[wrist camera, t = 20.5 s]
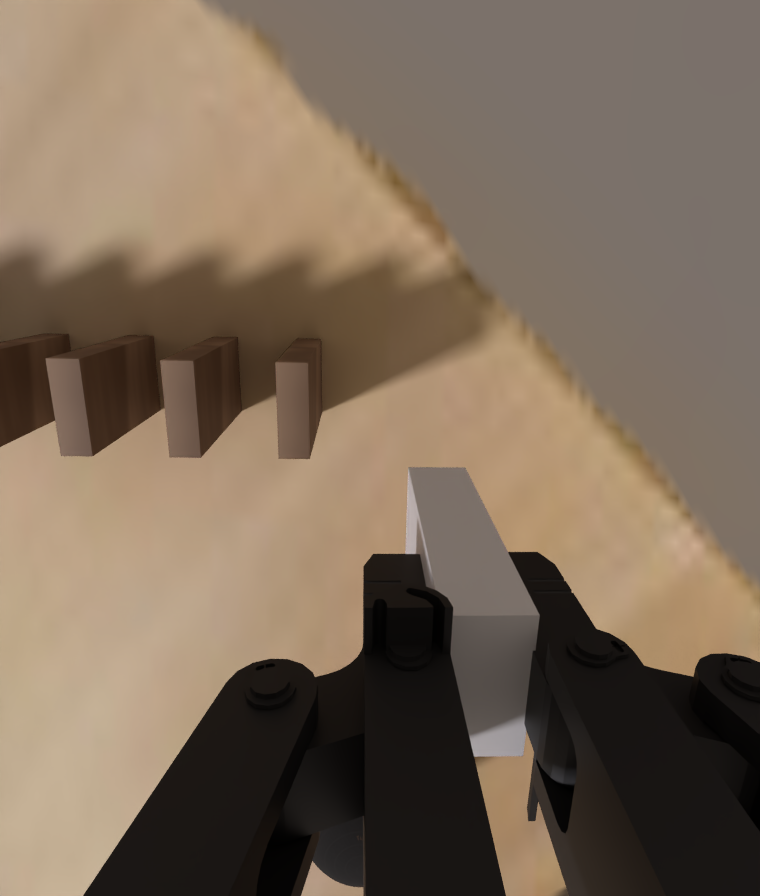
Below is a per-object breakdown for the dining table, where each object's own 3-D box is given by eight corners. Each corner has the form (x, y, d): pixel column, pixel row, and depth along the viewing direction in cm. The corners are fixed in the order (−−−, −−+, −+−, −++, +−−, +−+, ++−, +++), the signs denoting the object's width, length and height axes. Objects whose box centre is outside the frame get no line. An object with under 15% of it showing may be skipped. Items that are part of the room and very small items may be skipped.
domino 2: (136, 409, 38) (61, 455, 29) (128, 335, 37) (45, 358, 27) (160, 409, 39) (92, 456, 29) (153, 335, 37) (78, 358, 27)
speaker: (425, 790, 49) (439, 915, 40) (312, 800, 49) (299, 927, 40) (417, 697, 46) (431, 808, 37) (296, 708, 46) (278, 822, 37)
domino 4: (298, 412, 39) (278, 458, 29) (296, 338, 37) (275, 362, 28) (322, 412, 39) (309, 458, 29) (321, 338, 37) (307, 362, 28)
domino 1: (55, 408, 38) (-49, 454, 29) (43, 333, 37) (-70, 356, 27) (79, 408, 38) (-17, 454, 29) (68, 334, 37) (-36, 356, 27)
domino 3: (218, 410, 39) (169, 457, 29) (213, 336, 37) (160, 360, 28) (241, 410, 39) (200, 457, 29) (237, 337, 37) (193, 360, 28)
